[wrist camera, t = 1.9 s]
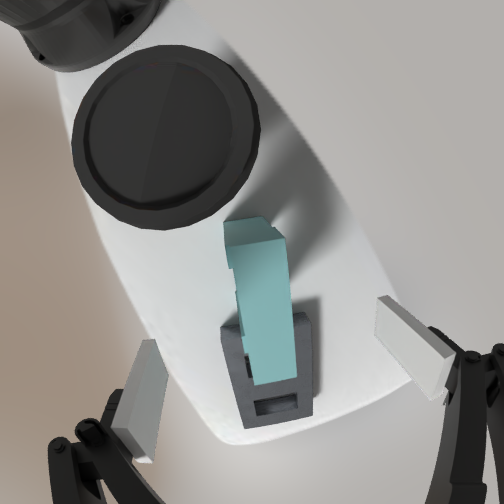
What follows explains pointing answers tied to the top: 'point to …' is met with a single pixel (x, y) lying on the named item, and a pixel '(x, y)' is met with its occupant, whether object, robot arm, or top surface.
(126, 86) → the coffee cup
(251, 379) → the grey slotted slab
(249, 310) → the teal u-shaped block
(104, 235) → the top surface
